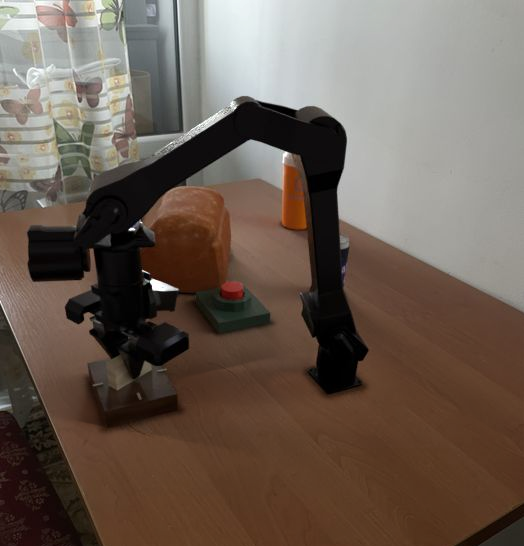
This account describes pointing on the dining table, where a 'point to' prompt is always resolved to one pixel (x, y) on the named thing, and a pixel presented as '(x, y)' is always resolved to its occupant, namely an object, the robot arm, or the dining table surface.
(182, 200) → the bread
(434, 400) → the dining table surface
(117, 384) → the cream block
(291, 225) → the shaker bottle
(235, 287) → the button
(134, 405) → the switch base
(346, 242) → the beverage can
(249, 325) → the block
